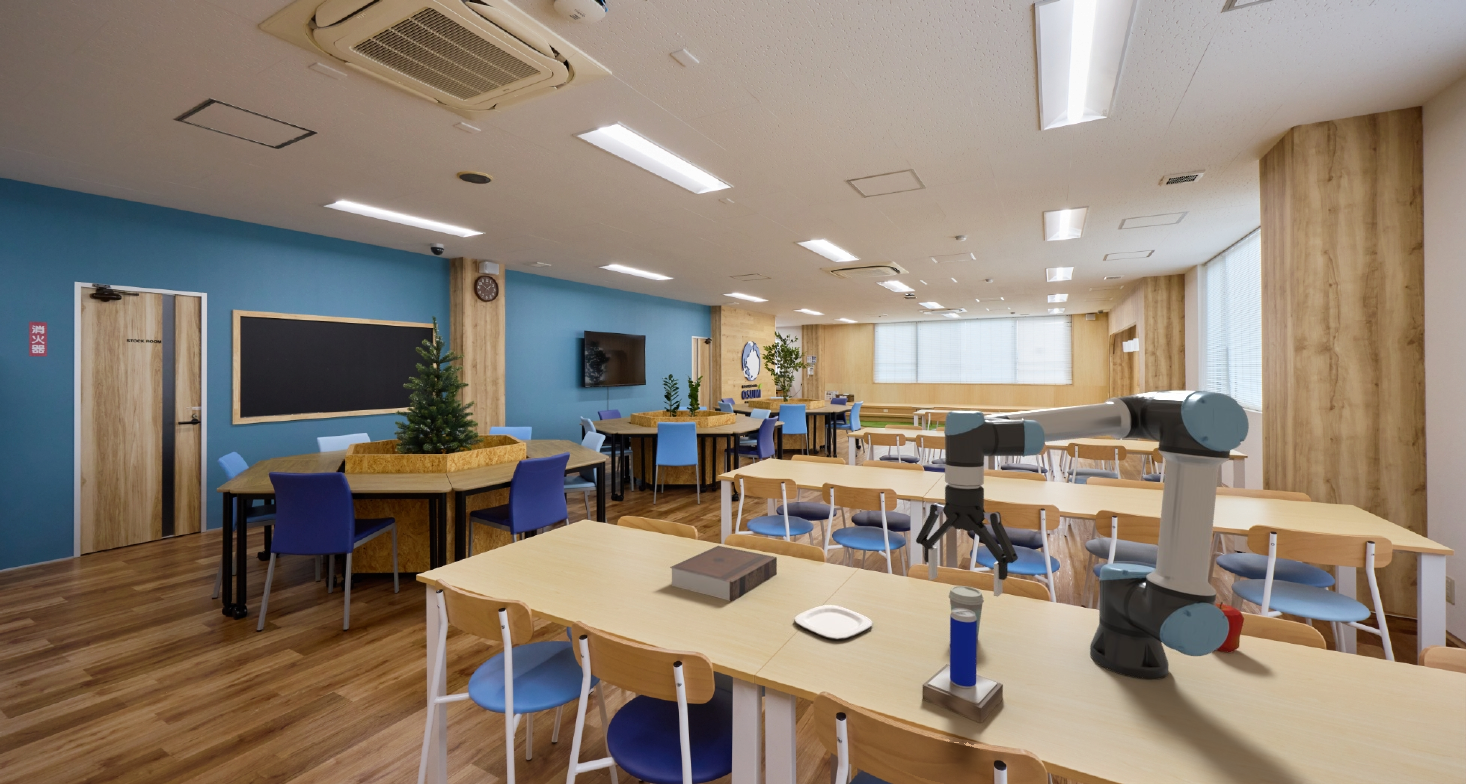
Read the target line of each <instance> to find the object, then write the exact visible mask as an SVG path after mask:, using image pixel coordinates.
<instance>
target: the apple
mask: <svg viewBox="0 0 1466 784" xmlns="http://www.w3.org/2000/svg"><path fill="white" fill-rule="evenodd" d="M1215 606H1217V607H1218V608H1219V609H1221V611H1222V612H1223V613H1224V615H1225V616H1226V617H1227V619H1228V622H1229V631H1228V635H1227V638H1226V640H1225V641H1224V643H1223V644H1222V645H1221V646H1220V647H1219V648H1218V649H1215V650H1216V651H1218V652H1222V653H1233V652H1234V651H1236V650H1238V649H1239V648H1240V641H1241V633H1242V629H1243V626H1244V622H1245V621H1244V620H1245V618H1244V616H1243V613H1242V612H1241V611H1240V610H1239V609H1238V608H1235V607H1233V606H1231V605H1226V604H1223V601H1221V602H1220V603H1216V602H1215ZM1215 650H1214V651H1215Z"/></svg>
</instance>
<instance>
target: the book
mask: <svg viewBox="0 0 1466 784" xmlns="http://www.w3.org/2000/svg"><path fill="white" fill-rule="evenodd" d="M777 559H778V558H777V556H772V555H768V554H763V553H758V552H752V551H746V550H743V549H736V548H732V547H727V546H721V545H717V546H714V547H712V548H711V549H708V550H706V551H703V552H701V553H698V554H697V555H694V556H692V557H689V558H687V559H686V560H683V561H681V562H678V563H676V564H674V565H672V566H670V567H669V568H670V569H671V586H672V587H674V588H675V587H676V588H680V589H684V590H687V591H692V592H695V593H700V594H703V595H707V596H710V597H716V598H720V599H723V600H726V601H729V602H733V603H734V602H735V601H737V599H739V598H741V597H742V596H744V595H746V594H748V593H749V592H751V591H752V590H754V589H755V588H757V587H759V586H761V585H762V584H763V583H765V582H767V581H769V580H770V579H772V578H773V577H776V575H777V573H778V572H777V571H778V570H777V569H778V567H777V566H778V565H777V563H778V562H777V561H778V560H777Z"/></svg>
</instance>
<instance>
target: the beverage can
mask: <svg viewBox="0 0 1466 784" xmlns="http://www.w3.org/2000/svg"><path fill="white" fill-rule="evenodd" d="M949 616H950V617H949V626H950V627H949V665H950V680H951V681H952V683H953V684H954V685H956V686H957V687H960V688H965V689H969V688H973V687H974V686H975V685H976V675H977V662H978V661H977V657H978V656H977V650H978V648H977V647H978V646H977V644H978V643H977V641H978V639H977V618H976V615H975V613H974V612H973V611H971V610H969V609H965V608H955V609H953V610H952V611H951V610H950V615H949Z"/></svg>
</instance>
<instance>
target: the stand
mask: <svg viewBox="0 0 1466 784" xmlns="http://www.w3.org/2000/svg"><path fill="white" fill-rule="evenodd" d="M1003 690H1004V684H1003V683H1000V682H998V681H995V680H992V679H989V678H987V677H984V676H981V675H978V674H976V685H975V686H974V687H973V688H969V689H965V688H960V687H957V686H956V685H954V684H953V683H952V681H951V680H950V664H945V665H943V667H942V668H940V670H938V671H937V672H935V673H934V674H933V675H932V676H931V677H930V678H929V679H928V680H927V681H925V682H924V683H923V684H922V697H921V698H922V700H924V701H926V702H928V703H931V704H933V705H936V706H939V707H941V708H943V709H945V710H948V711H950V712H953V713H956V714H957V715H960V716H962V717H965V718H967V719H969V720H972V721H974V722H977V723H979V724H982V723H983V722H984V721H985V720H986V718H987V717H988V716H989V715H990V714H991V712H992V711H993V710H994V709H995V708H996V706H998V704H1000V702H1001V701H1002V700H1003V697H1004V693H1003V692H1004V691H1003Z"/></svg>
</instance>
